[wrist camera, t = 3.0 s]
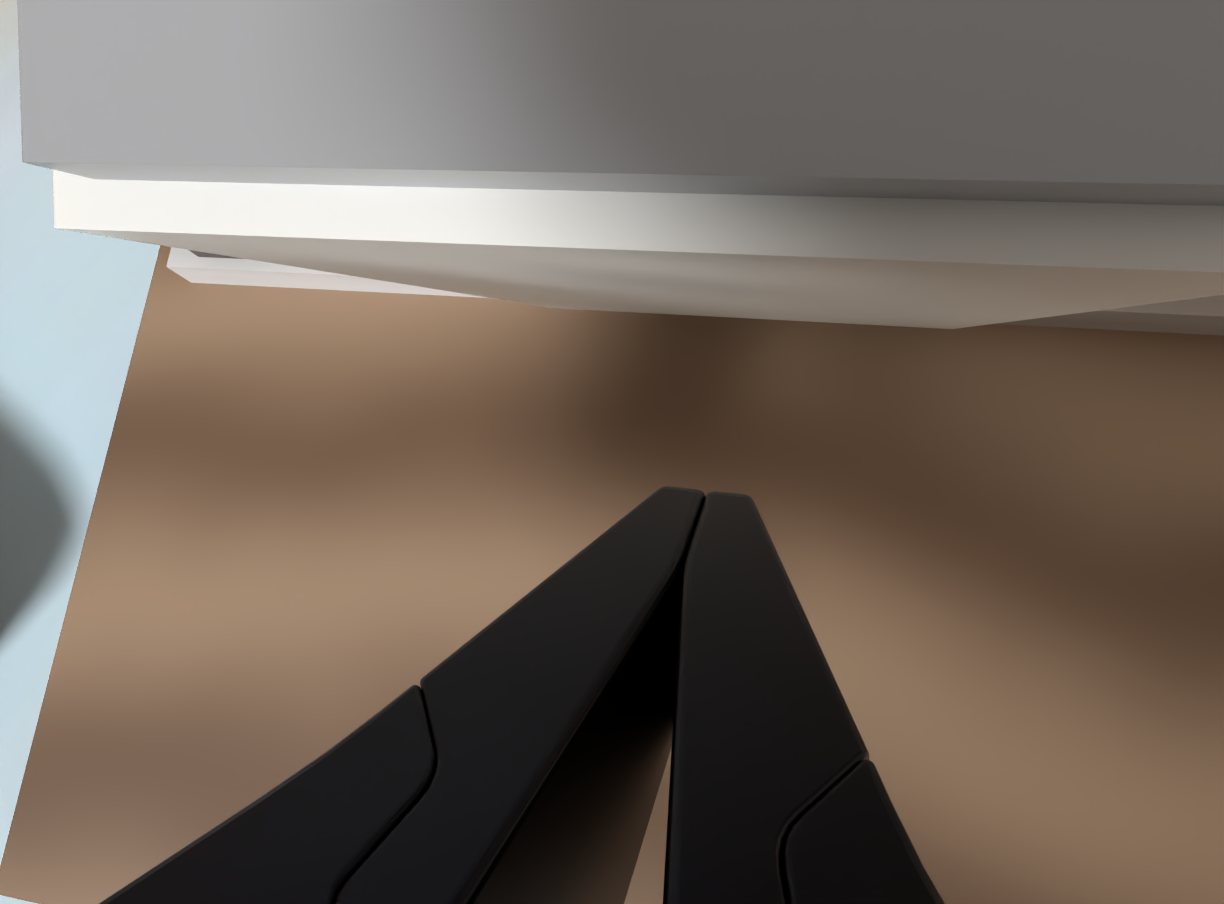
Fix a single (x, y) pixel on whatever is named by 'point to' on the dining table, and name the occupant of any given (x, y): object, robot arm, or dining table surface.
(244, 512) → the board
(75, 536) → the dining table surface
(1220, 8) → the relay module
